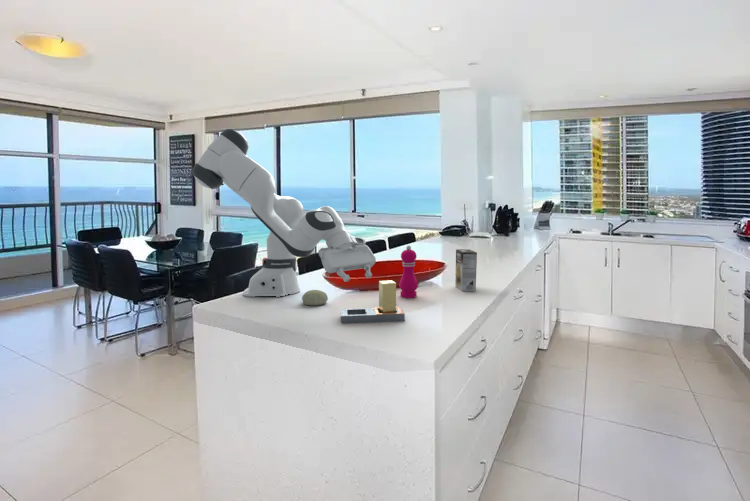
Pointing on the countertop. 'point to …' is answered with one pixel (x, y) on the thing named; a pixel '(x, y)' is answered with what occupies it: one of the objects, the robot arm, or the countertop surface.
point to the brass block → (387, 296)
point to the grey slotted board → (370, 315)
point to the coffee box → (466, 269)
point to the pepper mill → (408, 274)
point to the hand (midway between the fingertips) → (358, 278)
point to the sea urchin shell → (314, 297)
